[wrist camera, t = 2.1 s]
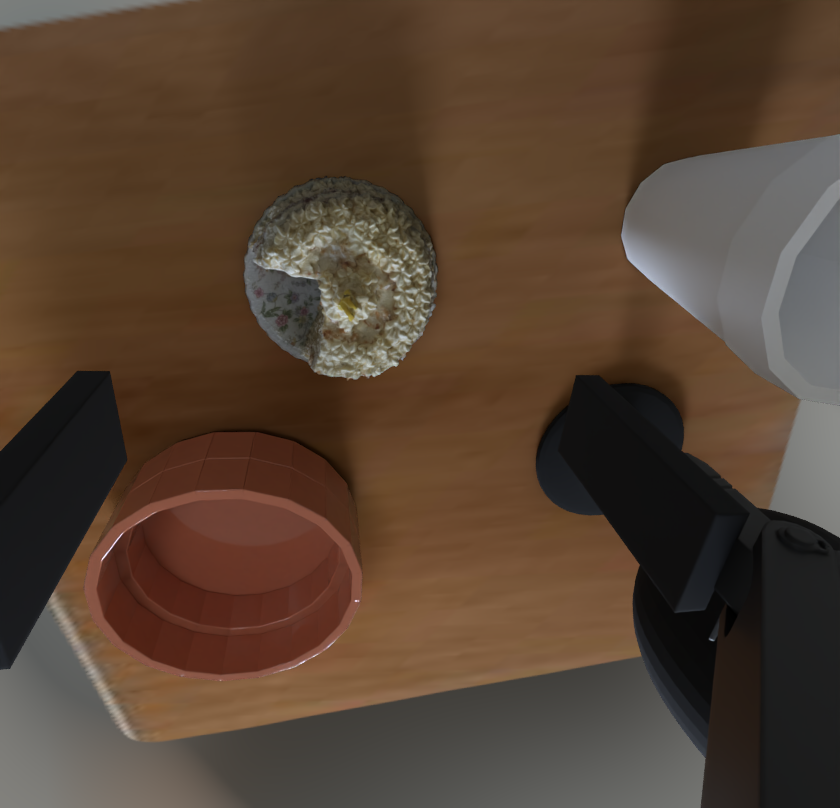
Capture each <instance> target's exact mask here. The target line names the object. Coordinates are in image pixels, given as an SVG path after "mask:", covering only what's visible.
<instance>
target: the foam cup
mask: <svg viewBox="0 0 840 808" xmlns="http://www.w3.org/2000/svg"><path fill="white" fill-rule="evenodd" d="M621 237H622V241H623V244H624V248H625V252H626V255H627V259H628V260H629V261H630V262H631V263H632V264H633V265H634V266H635V267H636V268H637V269H638V270H639V271H640V272H641V273H642V274H644V275H645V276H646V277H647V278H648V279H649V280H650V281H652V282H653V283H654V284H655V285H656V286H658V287H659V288H660V289H661V290H663V291H664V292H665V293H666V294H667V295H669V296H670V297H671V298H672V299H673V300H675V301H676V302H677V303H678V304H680V305H681V306H682V307H683V308H684V309H686V310H687V311H688V312H689V313H691V314H692V315H693V316H694V317H695V318H697V319H698V320H699V321H700V322H701V323H703V324H704V325H705V326H706V327H708V328H709V329H710V330H711V331H712V332H714V333H715V334H716V335H717V336H718V337H720V338H721V339H722V340H723V341H725V343H726V345H727V346H728V347H729V348H730V349H731V350H732V351H733V352H734V353H735V354H736V355H737V356H738V357H739V358H740V359H741V360H742V361H743V362H744V363H745V364H746V365H747V366H748V367H749V368H750V369H751V370H752V371H753V372H754V373H755V374H757V375H759V376H760V377H762V378H764V379H766V380H767V381H769V382H771V383H772V384H774V385H776V386H778V387H779V388H781V389H783V390H785V391H786V392H788V393H790V394H791V395H793V396H795V397H797V398H798V399H802V400H808V401H814V402H820V403H826V404H832V405H838V406H840V134H838V135H833V136H827V137H820V138H813V139H807V140H800V141H793V142H787V143H780V144H773V145H767V146H760V147H753V148H747V149H740V150H733V151H726V152H720V153H713V154H706V155H700V156H695V157H689V158H685V159H682V160H678V161H674V162H670V163H667V164H664V165H662V166H661V167H660V168H659V169H657V170H656V171H655V172H654V173H652V174H651V175H650V176H649V177H647V178H646V179H645V180H644V181H642V182H641V183H640V185H639V187H638V189H637V190H636V192H635V194H634V195H633V197H632V199H631V200H630V202H629V204H628V205H627V207H626V209H625V215H624V221H623V228H622V234H621Z"/></svg>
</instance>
